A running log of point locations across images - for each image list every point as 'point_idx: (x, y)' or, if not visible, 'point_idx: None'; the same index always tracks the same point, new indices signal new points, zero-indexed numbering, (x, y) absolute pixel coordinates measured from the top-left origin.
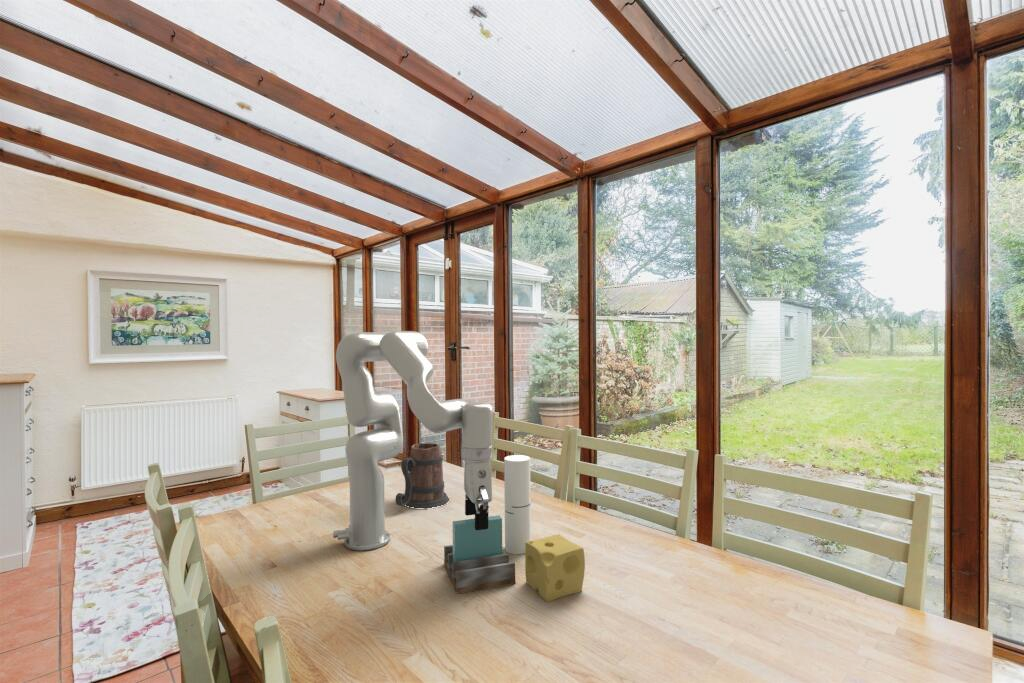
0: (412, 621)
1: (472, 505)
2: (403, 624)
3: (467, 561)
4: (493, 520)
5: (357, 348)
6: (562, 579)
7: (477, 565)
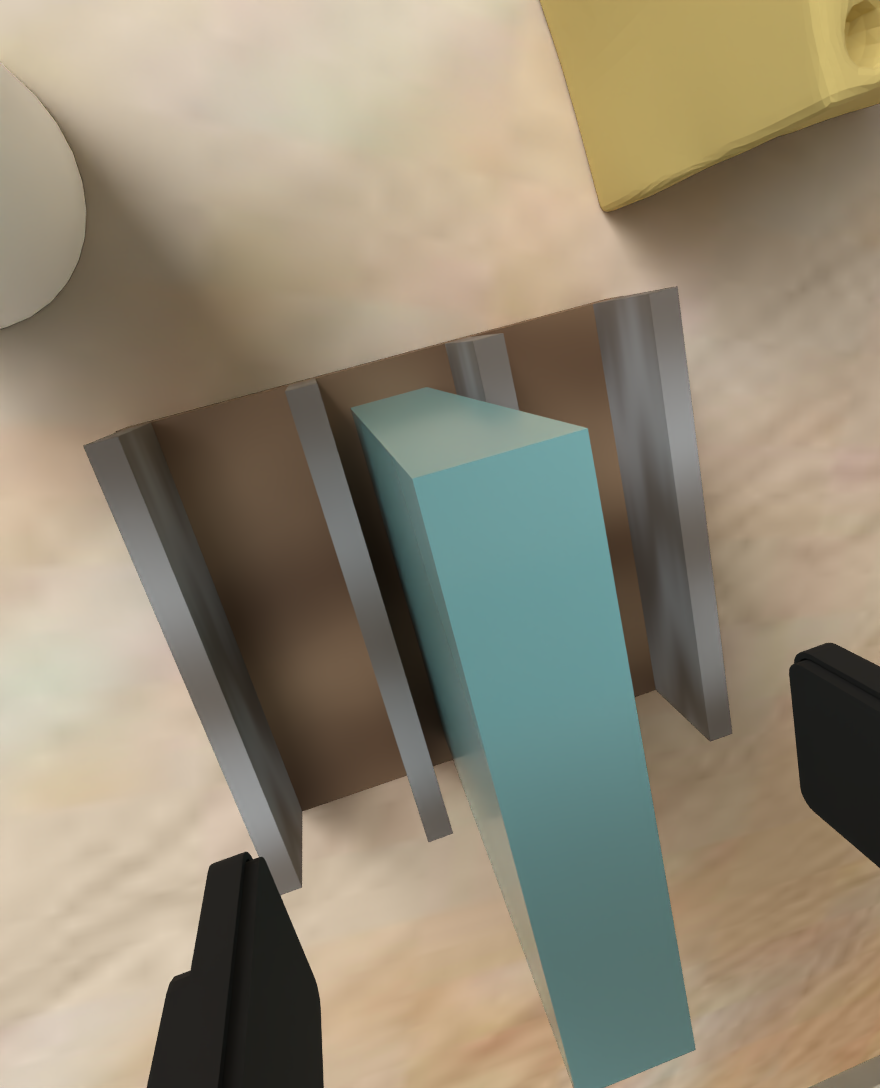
0: None
1: (281, 1070)
2: (850, 851)
3: None
4: (608, 577)
5: None
6: None
7: None
